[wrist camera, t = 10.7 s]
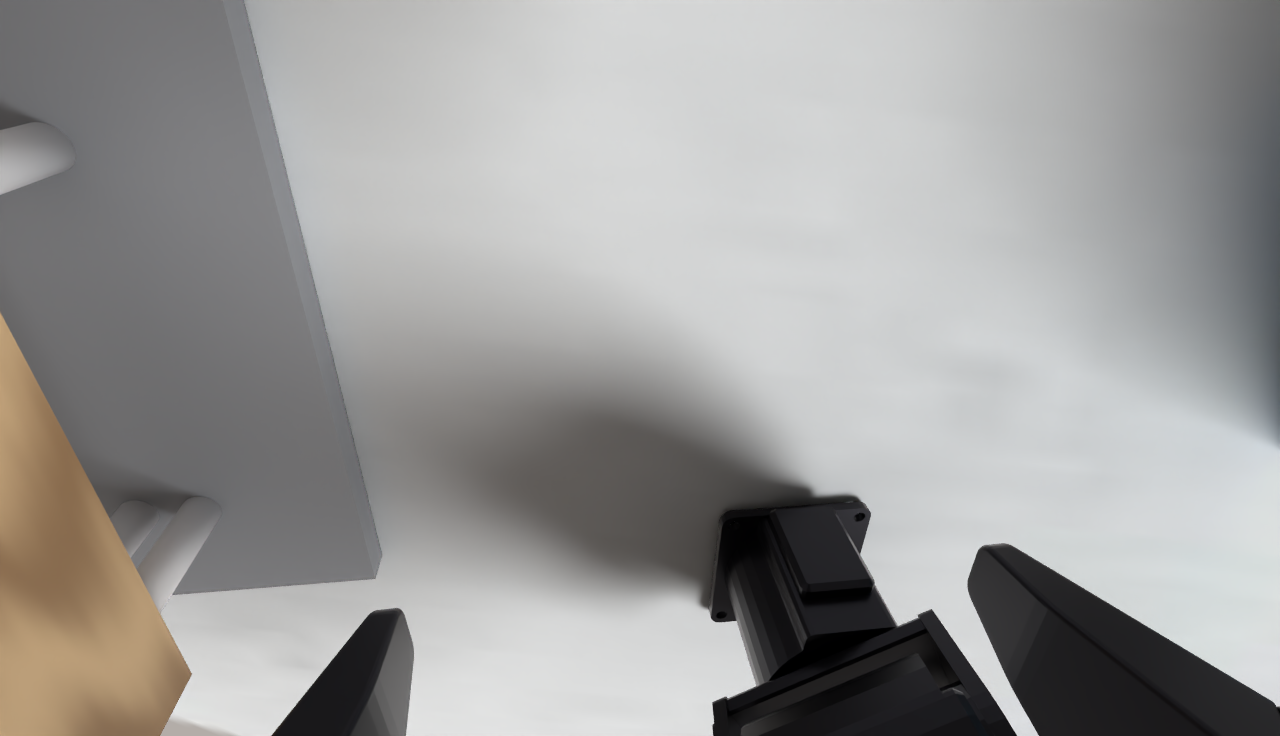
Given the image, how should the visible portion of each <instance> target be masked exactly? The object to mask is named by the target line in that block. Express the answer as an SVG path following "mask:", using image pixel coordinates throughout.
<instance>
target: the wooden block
mask: <svg viewBox="0 0 1280 736" xmlns="http://www.w3.org/2000/svg"><path fill="white" fill-rule="evenodd" d="M191 675H192V673H191V672H190V670H189V668H188V666H187V664H186V662H185V660H184V658H183V656H182V655H181V653H180V651H179V649H178V647H177V645H176V643H175V641H174V639H173V638H172V636H171V634H170V632H169V630H168V628H167V626H166V624H165V622H164V621H163V619H162V617H161V615H160V613H159V611H158V609H157V607H156V605H155V604H154V602H153V600H152V598H151V596H150V594H149V592H148V590H147V588H146V587H145V585H144V583H143V581H142V579H141V577H140V575H139V573H138V571H137V570H136V568H135V566H134V564H133V562H132V560H131V558H130V556H129V554H128V553H127V551H126V549H125V547H124V545H123V543H122V541H121V539H120V537H119V536H118V534H117V532H116V530H115V528H114V526H113V524H112V522H111V520H110V519H109V517H108V515H107V513H106V511H105V509H104V507H103V505H102V503H101V502H100V500H99V498H98V496H97V494H96V492H95V490H94V488H93V486H92V485H91V483H90V481H89V479H88V477H87V475H86V473H85V471H84V469H83V468H82V466H81V464H80V462H79V460H78V458H77V456H76V454H75V452H74V451H73V449H72V447H71V445H70V443H69V441H68V439H67V437H66V435H65V434H64V432H63V430H62V428H61V426H60V424H59V422H58V420H57V418H56V417H55V415H54V413H53V411H52V409H51V407H50V405H49V403H48V401H47V400H46V398H45V396H44V394H43V392H42V390H41V388H40V386H39V384H38V383H37V381H36V379H35V377H34V375H33V373H32V371H31V369H30V367H29V366H28V364H27V362H26V360H25V358H24V356H23V354H22V352H21V350H20V349H19V347H18V345H17V343H16V341H15V339H14V337H13V335H12V333H11V332H10V330H9V328H8V326H7V324H6V322H5V320H4V318H3V316H2V315H1V313H0V736H160V735H161V733H162V731H163V729H164V727H165V725H166V723H167V721H168V719H169V717H170V715H171V713H172V712H173V710H174V708H175V706H176V704H177V702H178V700H179V698H180V696H181V694H182V692H183V690H184V688H185V686H186V685H187V683H188V681H189V679H190V677H191Z"/></svg>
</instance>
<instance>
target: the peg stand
mask: <svg viewBox="0 0 1280 736" xmlns="http://www.w3.org/2000/svg"><path fill="white" fill-rule="evenodd" d="M0 313H1V315H2V316H3V318H4V320H5V322H6V324H7V326H8V328H9V330H10V332H11V333H12V335H13V337H14V339H15V341H16V343H17V345H18V347H19V349H20V350H21V352H22V354H23V356H24V358H25V360H26V362H27V364H28V366H29V367H30V369H31V371H32V373H33V375H34V377H35V379H36V381H37V383H38V384H39V386H40V388H41V390H42V392H43V394H44V396H45V398H46V400H47V401H48V403H49V405H50V407H51V409H52V411H53V413H54V415H55V417H56V418H57V420H58V422H59V424H60V426H61V428H62V430H63V432H64V434H65V435H66V437H67V439H68V441H69V443H70V445H71V447H72V449H73V451H74V452H75V454H76V456H77V458H78V460H79V462H80V464H81V466H82V468H83V469H84V471H85V473H86V475H87V477H88V479H89V481H90V483H91V485H92V486H93V488H94V490H95V492H96V494H97V496H98V498H99V500H100V502H101V503H102V505H103V507H104V509H105V511H106V513H107V515H108V517H109V519H110V520H111V522H112V524H113V526H114V528H115V530H116V532H117V534H118V536H119V537H120V539H121V541H122V543H123V545H124V547H125V549H126V551H127V553H128V554H129V556H130V558H131V560H132V562H133V564H134V566H135V568H136V570H137V571H138V573H139V575H140V577H141V579H142V581H143V583H144V585H145V587H146V588H147V590H148V592H149V594H150V596H151V598H152V600H153V602H154V604H155V605H156V607H157V609H158V611H159V613H161V611H162V610H163V608H164V607H165V605H166V603H167V602H168V600H169V599H170V597H171V595H177V594H190V593H202V592H215V591H228V590H240V589H253V588H266V587H278V586H291V585H304V584H316V583H329V582H341V581H354V580H367V579H375V578H376V574H377V571H378V568H379V564H380V561H381V557H382V553H381V549H380V545H379V541H378V537H377V533H376V529H375V525H374V521H373V517H372V513H371V509H370V505H369V501H368V497H367V493H366V489H365V485H364V481H363V477H362V473H361V469H360V465H359V461H358V457H357V453H356V449H355V445H354V441H353V437H352V433H351V429H350V425H349V421H348V417H347V413H346V409H345V405H344V401H343V397H342V393H341V389H340V385H339V381H338V377H337V373H336V369H335V365H334V361H333V357H332V353H331V349H330V345H329V341H328V337H327V333H326V329H325V325H324V321H323V317H322V313H321V309H320V305H319V301H318V297H317V293H316V289H315V285H314V281H313V277H312V273H311V269H310V265H309V261H308V257H307V253H306V249H305V245H304V241H303V237H302V233H301V229H300V225H299V221H298V217H297V213H296V209H295V205H294V201H293V197H292V193H291V189H290V185H289V181H288V177H287V173H286V169H285V165H284V161H283V157H282V153H281V149H280V145H279V141H278V137H277V133H276V129H275V125H274V120H273V116H272V112H271V108H270V104H269V100H268V96H267V92H266V88H265V84H264V80H263V76H262V72H261V68H260V64H259V60H258V56H257V52H256V48H255V44H254V40H253V36H252V32H251V28H250V24H249V20H248V16H247V12H246V8H245V4H244V0H0Z"/></svg>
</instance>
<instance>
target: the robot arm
mask: <svg viewBox="0 0 1280 736" xmlns="http://www.w3.org/2000/svg"><path fill="white" fill-rule="evenodd" d="M858 513H859V514H858ZM856 514H857V515H856ZM870 517H871V513H870V511H869V509H868V508H867V506H866V505H865V504H864V503H863V502H849V503H834V504H820V505H806V506H792V507H778V508H764V509H750V510H736V511H729V512H726V513H725V514H723V515H722V516H721V518H720V521H719V529H718V538H717V546H716V554H715V563H714V571H713V579H712V588H711V596H710V604H709V612H710V616H711V619H712V620H713V621H715V622H729V621H737V623H738V627H739V630H740V633H741V637H742V640H743V643H744V646H745V650H746V653H747V656H748V660H749V663H750V666H751V669H752V673H753V676H754V679H755V683H756V687H754V688H752V689H749V690H747V691H744V692H742V693H740V694H737V695H735V696H733V697H730V698H727V697H724V698H721V699H719V700H717V701H714V702H713V715H714V724H713V736H1017V735H1016V733H1015V732H1014V730H1013V729H1012V727H1011V725H1010V724H1009V722H1008V720H1007V719H1006V717H1005V715H1004V714H1003V712H1002V711H1001V709H1000V708H999V706H998V704H997V703H996V701H995V700H994V698H993V697H992V695H991V694H990V692H989V691H988V689H987V688H986V687H985V685H984V684H983V682H982V681H981V679H980V678H979V676H978V675H977V674H976V672H975V671H974V669H973V668H972V666H971V665H970V664H969V662H968V661H967V659H966V658H965V656H964V655H963V653H962V652H961V651H960V649H959V648H958V646H957V645H956V643H955V642H954V641H953V639H952V638H951V636H950V635H949V633H948V632H947V630H946V629H945V628H944V626H943V625H942V623H941V622H940V620H939V619H938V618H937V616H936V615H935V613H934V612H933V610H932V609H930V610H928V611H926V612H923V613H921V614H919V615H918V618H916V619H914V620H912V621H909V622H907V623H905V624H902V625H900V626H897V624H896V622H895V620H894V618H893V617H892V615H891V613H890V611H889V609H888V608H887V606H886V604H885V602H884V600H883V599H882V597H881V595H880V593H879V591H878V590H877V588H876V586H875V584H874V583H875V582H874V579H873V577H872V575H871V574H870V572H869V570H868V568H867V566H866V565H865V563H864V561H863V559H862V558H861V556H860V553H861V549H862V545H863V542H864V538H865V535H866V531H867V528H868V524H869V520H870ZM732 522H735V523H733V524H730V523H732ZM968 592H969V595H970V598H971V600H972V602H973V604H974V607H975V609H976V611H977V613H978V615H979V618H980V620H981V622H982V624H983V626H984V629H985V631H986V633H987V635H988V637H989V640H990V642H991V644H992V646H993V648H994V651H995V653H996V655H997V657H998V659H999V662H1000V664H1001V666H1002V668H1003V670H1004V673H1005V675H1006V677H1007V679H1008V681H1009V683H1010V685H1011V687H1012V689H1013V691H1014V692H1015V694H1016V696H1017V698H1018V700H1019V702H1020V703H1021V705H1022V707H1023V709H1024V710H1025V712H1026V714H1027V716H1028V717H1029V719H1030V721H1031V723H1032V724H1033V726H1034V728H1035V730H1036V731H1037V733H1038V735H1039V736H1280V707H1276V705H1275V704H1274V703H1273V702H1272V701H1271V700H1269V699H1267V698H1266V697H1264V696H1262V695H1261V694H1259V693H1257V692H1256V691H1254V690H1252V689H1251V688H1249V687H1247V686H1246V685H1244V684H1242V683H1241V682H1239V681H1237V680H1236V679H1234V678H1232V677H1231V676H1229V675H1227V674H1226V673H1224V672H1222V671H1220V670H1219V669H1217V668H1215V667H1214V666H1212V665H1210V664H1209V663H1207V662H1205V661H1204V660H1202V659H1200V658H1199V657H1197V656H1195V655H1194V654H1192V653H1190V652H1189V651H1187V650H1185V649H1184V648H1182V647H1180V646H1179V645H1177V644H1175V643H1174V642H1172V641H1170V640H1169V639H1167V638H1165V637H1164V636H1162V635H1160V634H1159V633H1157V632H1155V631H1154V630H1152V629H1150V628H1149V627H1147V626H1145V625H1144V624H1142V623H1140V622H1139V621H1137V620H1135V619H1134V618H1132V617H1130V616H1129V615H1127V614H1125V613H1124V612H1122V611H1120V610H1119V609H1117V608H1115V607H1114V606H1112V605H1110V604H1109V603H1107V602H1105V601H1104V600H1102V599H1100V598H1099V597H1097V596H1095V595H1094V594H1092V593H1090V592H1089V591H1087V590H1085V589H1084V588H1082V587H1080V586H1079V585H1077V584H1075V583H1074V582H1072V581H1070V580H1069V579H1067V578H1065V577H1064V576H1062V575H1060V574H1059V573H1057V572H1055V571H1054V570H1052V569H1050V568H1049V567H1047V566H1045V565H1044V564H1042V563H1040V562H1039V561H1037V560H1035V559H1034V558H1032V557H1030V556H1029V555H1027V554H1025V553H1024V552H1022V551H1020V550H1018V549H1017V548H1015V547H1013V546H1011V545H1009V544H1004V543H1001V544H992V545H984V546H982V547H981V548H980V549H979V550H978V552H977V555H976V558H975V561H974V563H973V566H972V569H971V572H970V575H969V578H968ZM413 661H414V648H413V642H412V639H411V635H410V632H409V629H408V625H407V622H406V619H405V615H404V613H403V611H402V610H401V609H399V608H393V609H384V610H376V611H373V612H372V613H370V614H369V615H368V616H367V618H366V619H365V620H364V621H363V623H362V624H361V625H360V626H359V628H358V629H357V630H356V631H355V632H354V634H353V635H352V636H351V637H350V639H349V640H348V641H347V642H346V644H345V645H344V646H343V647H342V649H341V650H340V651H339V652H338V654H337V655H336V656H335V657H334V659H333V660H332V661H331V662H330V664H329V665H328V666H327V667H326V669H325V670H324V671H323V672H322V673H321V675H320V676H319V677H318V678H317V680H316V681H315V682H314V683H313V685H312V686H311V687H310V688H309V690H308V691H307V692H306V693H305V695H304V696H303V697H302V698H301V700H300V701H299V702H298V703H297V705H296V706H295V707H294V708H293V709H292V711H291V712H290V713H289V714H288V716H287V717H286V718H285V719H284V721H283V722H282V723H281V724H280V726H279V727H278V728H277V729H276V731H275V732H274V733H273V734H272V736H406V728H407V719H408V709H409V700H410V690H411V680H412V671H413Z"/></svg>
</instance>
